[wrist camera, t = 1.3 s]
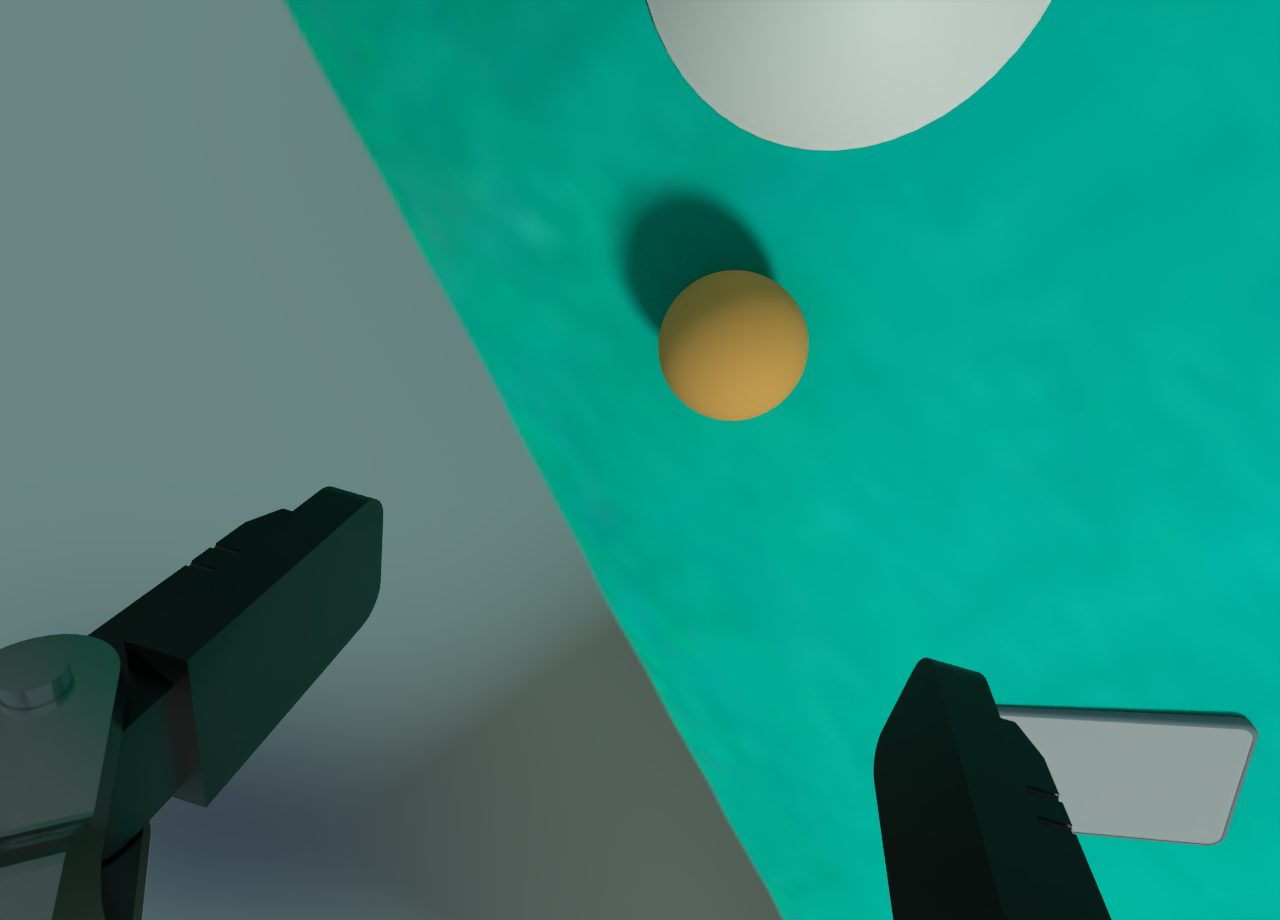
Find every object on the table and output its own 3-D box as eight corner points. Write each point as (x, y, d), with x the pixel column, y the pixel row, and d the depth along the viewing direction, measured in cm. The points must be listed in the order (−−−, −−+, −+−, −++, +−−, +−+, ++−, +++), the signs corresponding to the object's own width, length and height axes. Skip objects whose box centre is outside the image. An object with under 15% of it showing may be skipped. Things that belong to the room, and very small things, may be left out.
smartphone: (912, 706, 35) (1265, 726, 31) (910, 692, 36) (1252, 710, 32) (907, 820, 38) (1224, 850, 35) (904, 805, 39) (1214, 832, 36)
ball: (687, 243, 28) (665, 269, 23) (825, 276, 27) (833, 310, 22) (657, 373, 30) (632, 421, 25) (783, 405, 30) (782, 461, 25)
